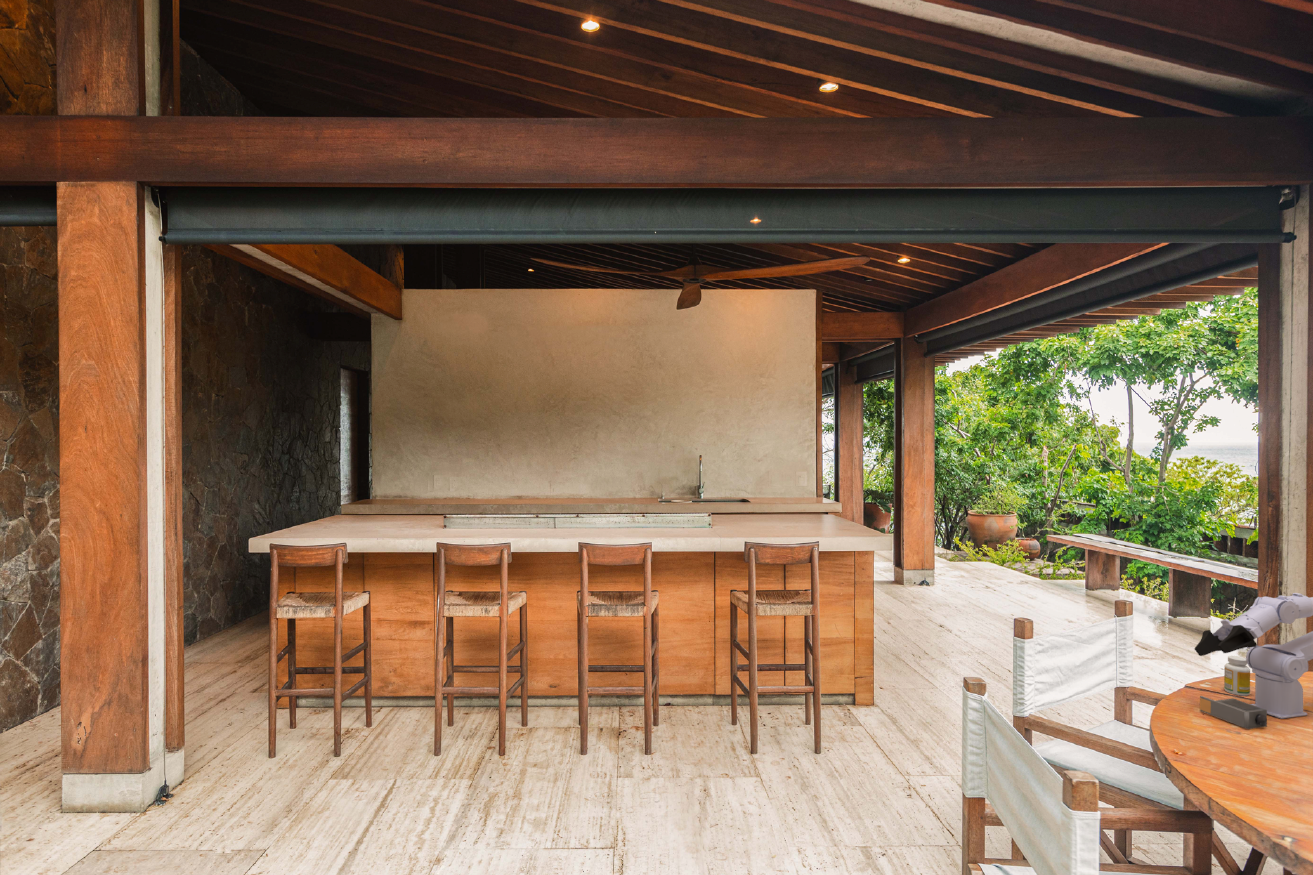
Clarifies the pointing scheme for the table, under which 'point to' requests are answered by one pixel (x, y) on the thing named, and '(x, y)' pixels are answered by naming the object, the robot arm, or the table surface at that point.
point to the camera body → (1255, 713)
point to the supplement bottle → (1237, 676)
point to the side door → (1224, 712)
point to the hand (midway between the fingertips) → (1209, 650)
